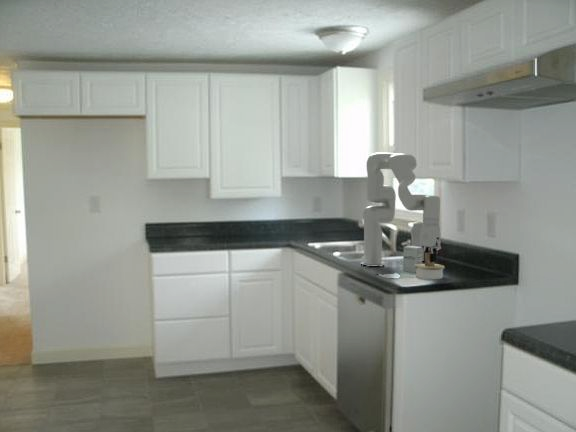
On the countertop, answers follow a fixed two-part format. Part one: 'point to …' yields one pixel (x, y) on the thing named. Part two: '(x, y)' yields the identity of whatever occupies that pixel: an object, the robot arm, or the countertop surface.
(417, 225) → the tall pale column
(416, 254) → the supplement box
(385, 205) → the robot arm
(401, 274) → the mat
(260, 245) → the countertop surface
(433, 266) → the lid
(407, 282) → the countertop surface
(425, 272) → the bowl
